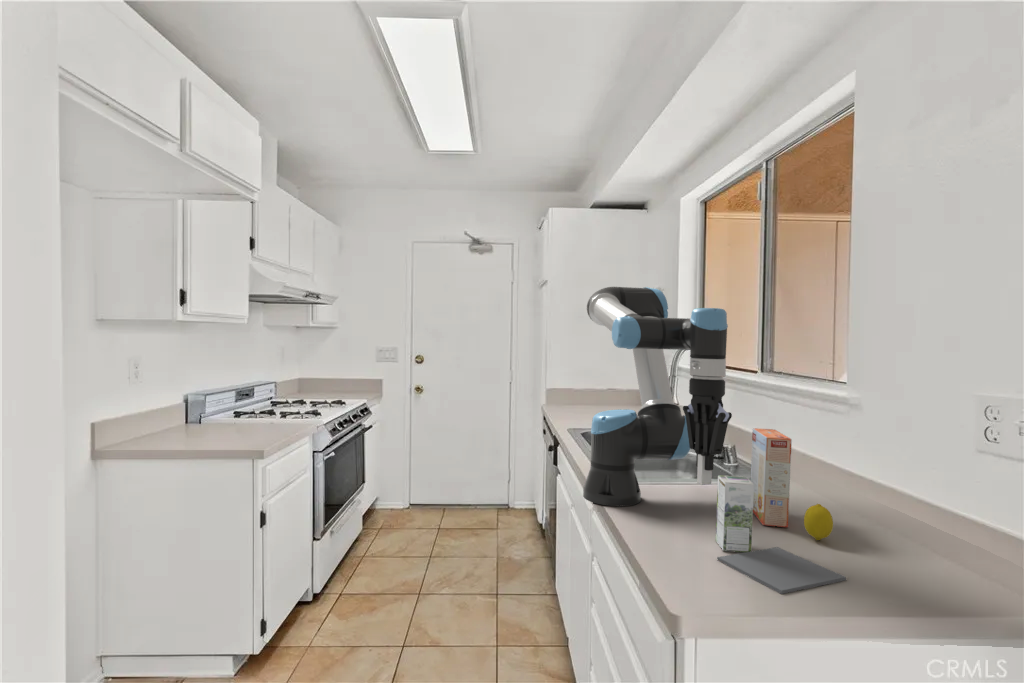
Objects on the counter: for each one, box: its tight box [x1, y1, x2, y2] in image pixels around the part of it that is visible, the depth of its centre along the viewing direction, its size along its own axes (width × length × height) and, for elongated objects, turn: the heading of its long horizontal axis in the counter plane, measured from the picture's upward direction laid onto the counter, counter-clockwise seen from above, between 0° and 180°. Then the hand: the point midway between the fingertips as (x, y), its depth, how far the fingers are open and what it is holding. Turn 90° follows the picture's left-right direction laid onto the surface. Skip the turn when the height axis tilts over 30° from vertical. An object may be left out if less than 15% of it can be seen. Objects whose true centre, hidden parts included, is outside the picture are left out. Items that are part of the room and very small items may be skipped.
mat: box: [716, 546, 847, 595], centre depth 104 cm, size 15×16×1 cm
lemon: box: [803, 503, 834, 541], centre depth 120 cm, size 6×6×8 cm
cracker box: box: [750, 427, 793, 528], centre depth 135 cm, size 14×6×21 cm, turn 168°
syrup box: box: [715, 474, 754, 553], centre depth 115 cm, size 6×6×14 cm
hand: (704, 483), depth 123 cm, fingers closed
